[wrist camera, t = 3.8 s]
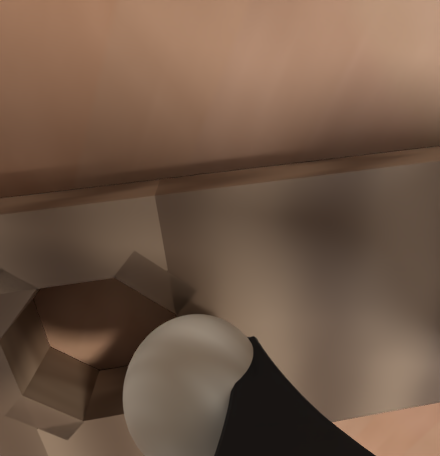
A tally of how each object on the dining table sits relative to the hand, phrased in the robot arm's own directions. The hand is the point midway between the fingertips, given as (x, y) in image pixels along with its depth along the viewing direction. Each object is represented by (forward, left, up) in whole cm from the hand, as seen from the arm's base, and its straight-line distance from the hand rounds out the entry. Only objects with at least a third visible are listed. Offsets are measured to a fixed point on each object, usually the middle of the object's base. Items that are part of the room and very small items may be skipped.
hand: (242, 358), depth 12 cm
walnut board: (0, 0, -4) cm, 5 cm away
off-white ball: (+2, +1, +1) cm, 2 cm away
